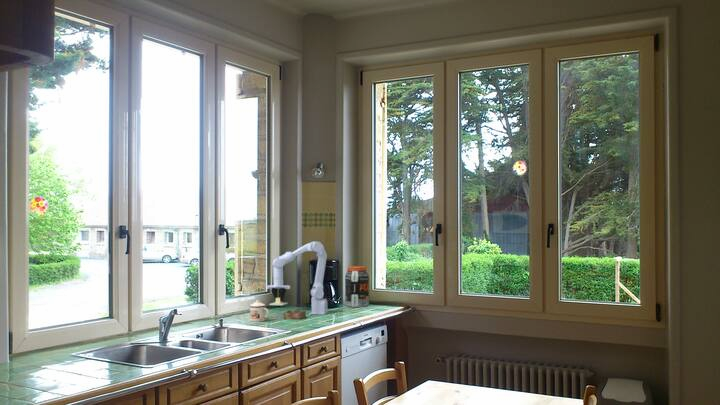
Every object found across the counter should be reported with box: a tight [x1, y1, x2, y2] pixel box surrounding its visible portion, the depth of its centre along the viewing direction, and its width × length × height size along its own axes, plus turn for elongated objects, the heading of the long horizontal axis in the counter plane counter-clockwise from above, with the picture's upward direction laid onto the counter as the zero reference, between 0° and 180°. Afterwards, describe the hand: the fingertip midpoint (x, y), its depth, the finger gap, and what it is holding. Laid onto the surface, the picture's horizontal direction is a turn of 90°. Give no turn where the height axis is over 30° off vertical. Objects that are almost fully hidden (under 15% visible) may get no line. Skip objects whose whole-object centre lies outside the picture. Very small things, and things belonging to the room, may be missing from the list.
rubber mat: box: [268, 313, 284, 318], centre depth 392 cm, size 9×9×1 cm
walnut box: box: [283, 309, 307, 320], centre depth 383 cm, size 10×10×4 cm
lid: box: [269, 297, 289, 306], centre depth 393 cm, size 8×8×4 cm
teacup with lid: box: [249, 299, 270, 323], centre depth 375 cm, size 12×9×12 cm
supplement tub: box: [344, 265, 370, 308], centre depth 433 cm, size 16×16×26 cm
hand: (278, 300), depth 393 cm, fingers closed on lid, 3 cm apart
